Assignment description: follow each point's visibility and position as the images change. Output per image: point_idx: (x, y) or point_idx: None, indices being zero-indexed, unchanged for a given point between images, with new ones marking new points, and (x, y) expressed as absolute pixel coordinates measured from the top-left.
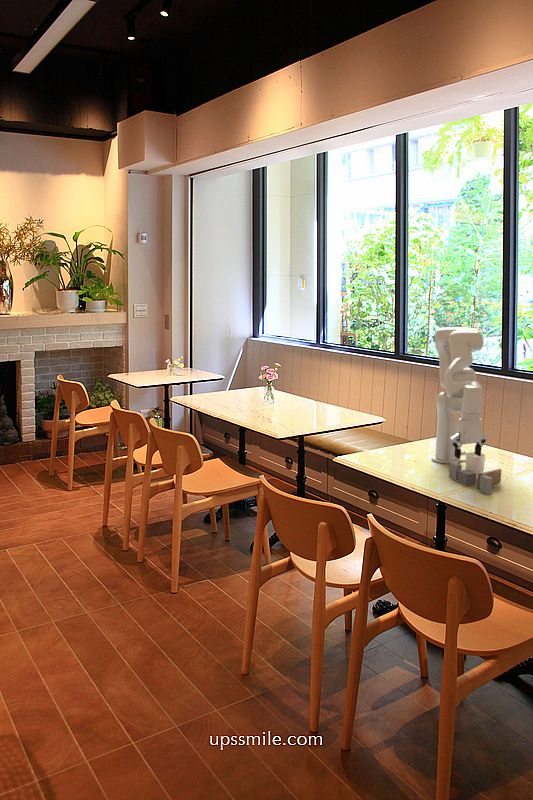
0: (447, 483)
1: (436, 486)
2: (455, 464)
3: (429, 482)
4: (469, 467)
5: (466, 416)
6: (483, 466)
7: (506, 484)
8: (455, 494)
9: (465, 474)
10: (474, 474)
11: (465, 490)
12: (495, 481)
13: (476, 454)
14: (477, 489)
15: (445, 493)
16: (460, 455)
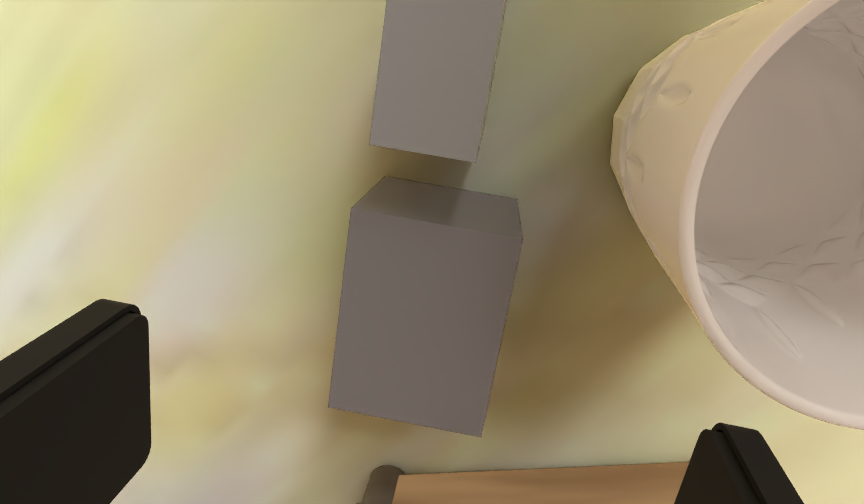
0: (242, 159)
1: (62, 183)
2: (388, 88)
3: (66, 21)
4: (631, 190)
5: None
6: (845, 311)
7: (809, 500)
8: None
9: (333, 373)
10: (452, 425)
11: (261, 421)
12: None
13: (679, 496)
14: (369, 480)
15: None
16: (106, 499)
